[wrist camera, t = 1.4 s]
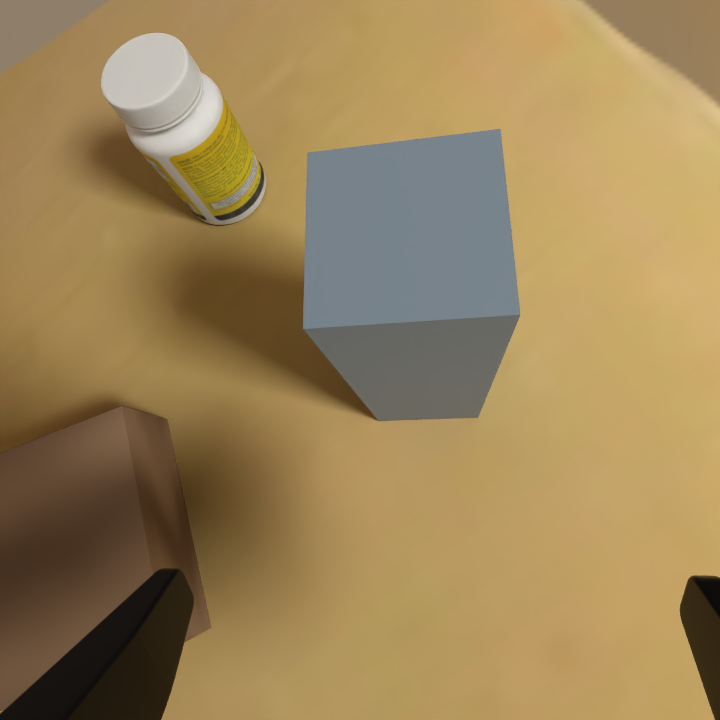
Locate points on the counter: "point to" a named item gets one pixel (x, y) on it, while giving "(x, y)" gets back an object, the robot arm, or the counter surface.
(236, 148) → the supplement bottle
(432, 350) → the slate block
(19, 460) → the walnut block
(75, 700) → the robot arm
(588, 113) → the counter surface
